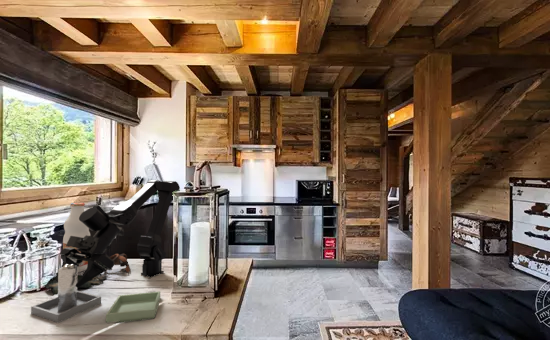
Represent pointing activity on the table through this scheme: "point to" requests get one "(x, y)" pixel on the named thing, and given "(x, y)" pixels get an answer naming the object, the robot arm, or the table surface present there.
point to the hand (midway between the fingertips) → (66, 284)
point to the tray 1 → (51, 310)
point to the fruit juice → (75, 229)
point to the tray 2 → (134, 307)
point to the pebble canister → (67, 287)
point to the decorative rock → (89, 284)
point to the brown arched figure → (121, 261)
